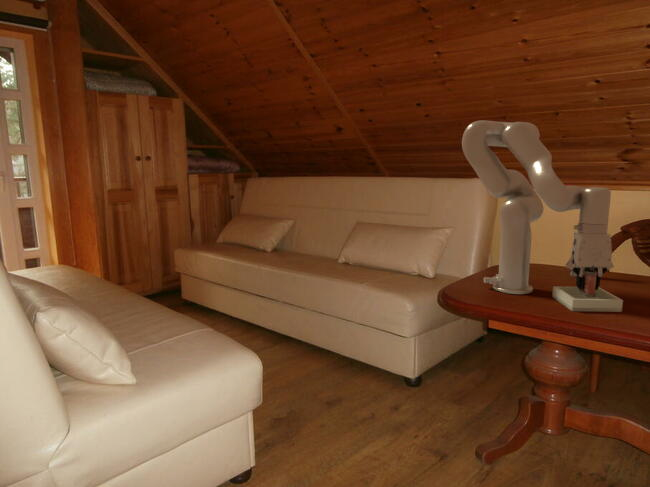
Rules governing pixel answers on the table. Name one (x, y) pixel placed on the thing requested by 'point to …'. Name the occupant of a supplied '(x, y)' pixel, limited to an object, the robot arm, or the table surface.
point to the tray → (587, 300)
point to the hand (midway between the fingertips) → (587, 288)
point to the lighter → (589, 282)
